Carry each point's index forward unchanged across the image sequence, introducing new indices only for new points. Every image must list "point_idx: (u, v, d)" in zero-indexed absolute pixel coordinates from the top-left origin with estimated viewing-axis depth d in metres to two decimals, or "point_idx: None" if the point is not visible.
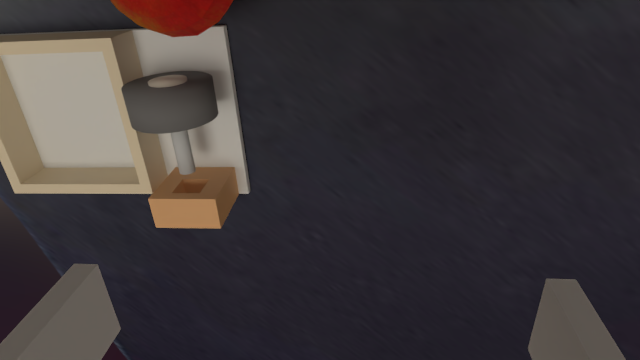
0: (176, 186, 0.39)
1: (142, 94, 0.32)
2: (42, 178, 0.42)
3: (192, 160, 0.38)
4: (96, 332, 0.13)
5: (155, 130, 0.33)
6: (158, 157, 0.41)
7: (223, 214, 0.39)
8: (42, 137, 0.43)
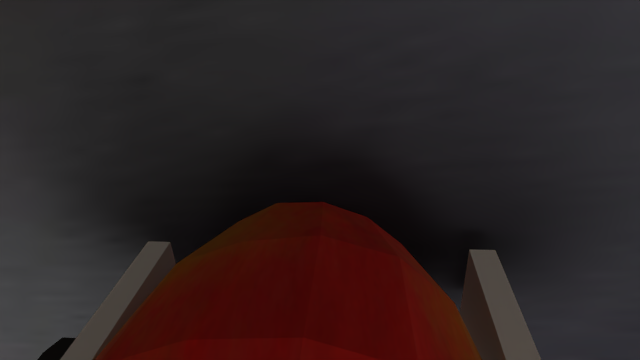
0: None
1: None
2: None
3: None
4: None
5: None
6: None
7: None
8: None
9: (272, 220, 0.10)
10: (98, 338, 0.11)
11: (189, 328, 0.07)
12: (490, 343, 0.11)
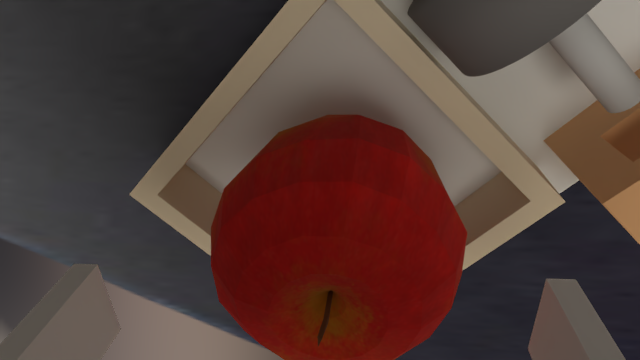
0: (616, 150, 0.17)
1: None
2: None
3: (628, 66, 0.16)
4: (96, 332, 0.13)
5: (580, 7, 0.12)
6: (511, 140, 0.20)
7: None
8: None
9: (329, 116, 0.18)
10: None
11: (303, 138, 0.14)
12: None
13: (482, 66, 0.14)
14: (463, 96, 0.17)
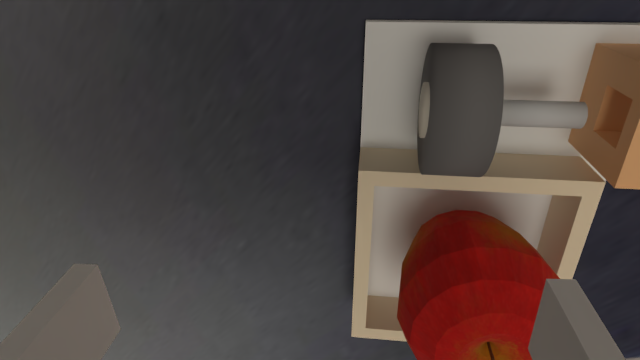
0: (605, 141, 0.23)
1: (431, 143, 0.21)
2: None
3: (564, 102, 0.22)
4: (96, 332, 0.13)
5: (492, 139, 0.20)
6: (544, 160, 0.27)
7: None
8: None
9: (422, 232, 0.28)
10: None
11: (415, 270, 0.24)
12: None
13: (475, 176, 0.23)
14: (484, 177, 0.25)
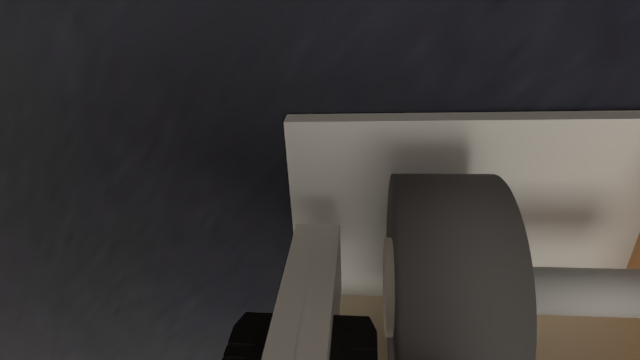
0: None
1: None
2: None
3: (638, 276, 0.12)
4: None
5: None
6: (584, 318, 0.17)
7: None
8: None
9: None
10: (295, 310, 0.11)
11: None
12: None
13: None
14: None
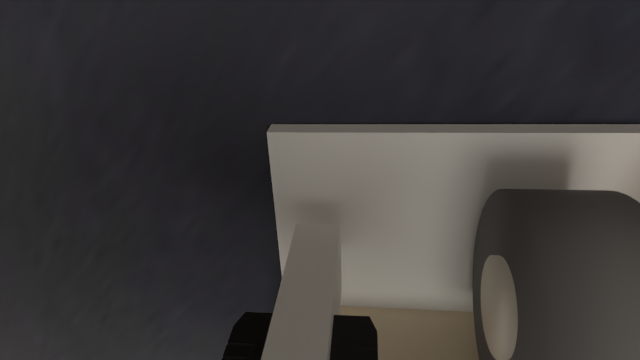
0: None
1: None
2: None
3: None
4: None
5: None
6: None
7: None
8: None
9: None
10: (295, 310, 0.11)
11: None
12: None
13: None
14: None
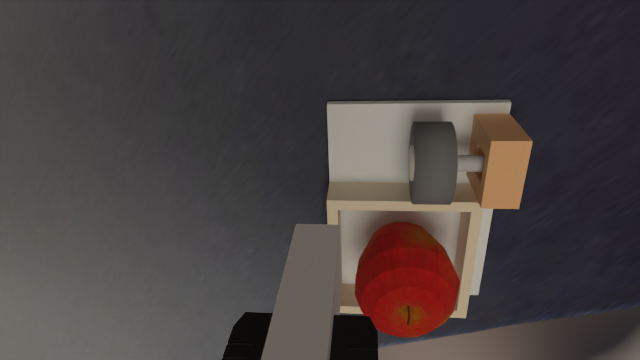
0: (477, 178, 0.37)
1: (416, 187, 0.34)
2: None
3: None
4: None
5: (453, 184, 0.34)
6: None
7: (518, 135, 0.34)
8: None
9: (372, 238, 0.42)
10: (295, 310, 0.11)
11: (363, 263, 0.38)
12: None
13: (445, 204, 0.36)
14: (407, 201, 0.39)
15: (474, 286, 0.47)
